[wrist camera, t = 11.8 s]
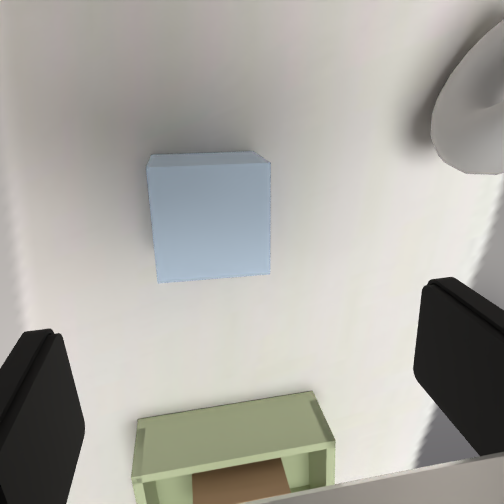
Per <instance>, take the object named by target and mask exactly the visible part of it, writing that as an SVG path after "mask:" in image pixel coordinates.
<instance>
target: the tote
mask: <svg viewBox="0 0 504 504" xmlns="http://www.w3.org/2000/svg"><path fill="white" fill-rule="evenodd" d="M280 457H281V460H282V463H283V467H284V470H285V474H286V477H287V481H288V484H289V488H290V491H291V493H294V492H299V491H304V490H309V489H314V488H319V487H324V486H329V485H334V479H335V438H334V436H333V434H332V432H331V430H330V428H329V425H328V423H327V421H326V419H325V417H324V415H323V413H322V410H321V408H320V406H319V404H318V402H317V400H316V398H315V395H314V393H313V391H309V392H303V393H297V394H291V395H285V396H278V397H272V398H266V399H260V400H254V401H248V402H241V403H235V404H229V405H223V406H217V407H211V408H205V409H198V410H192V411H186V412H180V413H174V414H168V415H161V416H155V417H149V418H143V419H138V424H137V432H136V440H135V449H134V457H133V465H132V474H131V480H132V484H133V489H134V494H135V498H136V503H137V504H193V492H192V474H193V473H199V472H204V471H209V470H215V469H220V468H226V467H231V466H237V465H242V464H247V463H253V462H258V461H264V460H269V459H275V458H280Z"/></svg>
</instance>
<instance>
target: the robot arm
mask: <svg viewBox="0 0 504 504" xmlns="http://www.w3.org/2000/svg"><path fill="white" fill-rule="evenodd" d="M413 370H414V375H415V378H416V380H417V381H418V383H419V384H420V385H421V386H422V387H423V388H424V390H425V391H426V392H427V393H428V394H429V396H430V397H431V398H432V399H433V400H434V402H435V403H436V404H437V405H438V406H439V408H440V409H441V410H442V411H443V412H444V413H445V415H446V416H447V417H448V418H449V420H450V421H451V422H452V423H453V424H454V426H455V427H456V428H457V429H458V430H459V431H460V433H461V434H462V435H463V436H464V437H465V439H466V440H467V441H468V442H469V443H470V445H471V446H472V447H473V448H474V449H475V450H476V452H477V453H478V454H479V455H480V456H479V457H474V458H469V459H463V460H458V461H453V462H448V463H442V464H437V465H432V466H427V467H422V468H416V469H411V470H406V471H401V472H396V473H390V474H385V475H380V476H375V477H370V478H365V479H360V480H355V481H350V482H345V483H339V484H334V485H329V486H324V487H319V488H314V489H309V490H304V491H299V492H294V493H289V494H284V495H279V496H274V497H269V498H264V499H259V500H254V501H249V502H244V503H239V504H504V310H502V309H500V308H499V307H498V306H496V305H495V304H493V303H492V302H490V301H489V300H487V299H485V298H484V297H483V296H481V295H480V294H478V293H477V292H475V291H474V290H472V289H471V288H469V287H468V286H466V285H465V284H463V283H462V282H460V281H459V280H457V279H456V278H453V277H447V278H439V279H431V280H430V281H429V282H428V284H427V285H426V286H424V287H423V289H422V295H421V304H420V313H419V321H418V330H417V339H416V348H415V357H414V366H413ZM84 434H85V422H84V418H83V414H82V410H81V406H80V402H79V398H78V394H77V391H76V387H75V383H74V379H73V375H72V371H71V367H70V363H69V360H68V356H67V352H66V348H65V344H64V340H63V337H62V335H61V334H60V333H58V334H54V332H53V330H52V329H43V330H35V331H27V332H24V333H23V334H22V335H21V337H20V338H19V340H18V342H17V343H16V345H15V346H14V348H13V350H12V351H11V353H10V354H9V356H8V357H7V359H6V361H5V362H4V364H3V365H2V367H1V368H0V504H66V502H67V499H68V495H69V491H70V487H71V484H72V480H73V476H74V472H75V469H76V465H77V461H78V457H79V454H80V450H81V446H82V442H83V439H84Z"/></svg>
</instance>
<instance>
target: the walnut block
mask: <svg viewBox="0 0 504 504" xmlns="http://www.w3.org/2000/svg"><path fill="white" fill-rule="evenodd" d="M192 492H193V504H239V503H244V502H249V501H254V500H259V499H264V498H269V497H274V496H279V495H284V494H289V493H291V491H290V488H289V484H288V481H287V477H286V474H285V470H284V467H283V463H282V460H281V457H280V458H275V459H269V460H264V461H258V462H253V463H247V464H242V465H237V466H231V467H226V468H220V469H215V470H209V471H204V472H199V473H193V474H192Z"/></svg>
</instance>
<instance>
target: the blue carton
mask: <svg viewBox="0 0 504 504" xmlns="http://www.w3.org/2000/svg"><path fill="white" fill-rule="evenodd" d="M146 173H147V183H148V193H149V202H150V212H151V222H152V232H153V242H154V251H155V261H156V271H157V281H158V283H169V282H181V281H194V280H206V279H218V278H230V277H242V276H254V275H267V274H270V179H271V163H270V162H269V161H267V160H266V159H264V158H263V157H261V156H260V155H258V154H257V153H255V152H254V151H243V152H213V153H184V154H154V155H151V157H150V159H149V162H148V164H147V166H146Z"/></svg>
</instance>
